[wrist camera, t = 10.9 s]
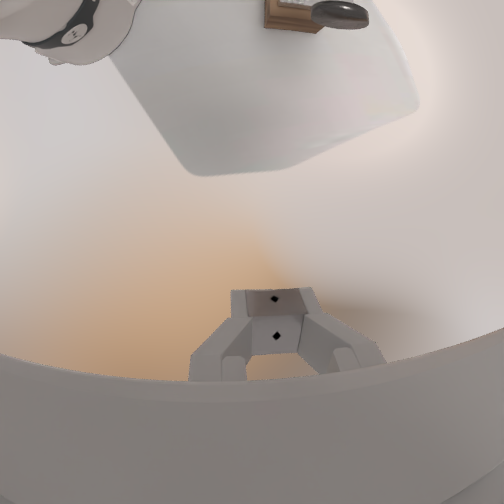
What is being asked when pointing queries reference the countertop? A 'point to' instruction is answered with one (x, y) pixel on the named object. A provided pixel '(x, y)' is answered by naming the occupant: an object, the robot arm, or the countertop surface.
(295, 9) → the stand
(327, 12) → the plunger
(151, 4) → the countertop surface
